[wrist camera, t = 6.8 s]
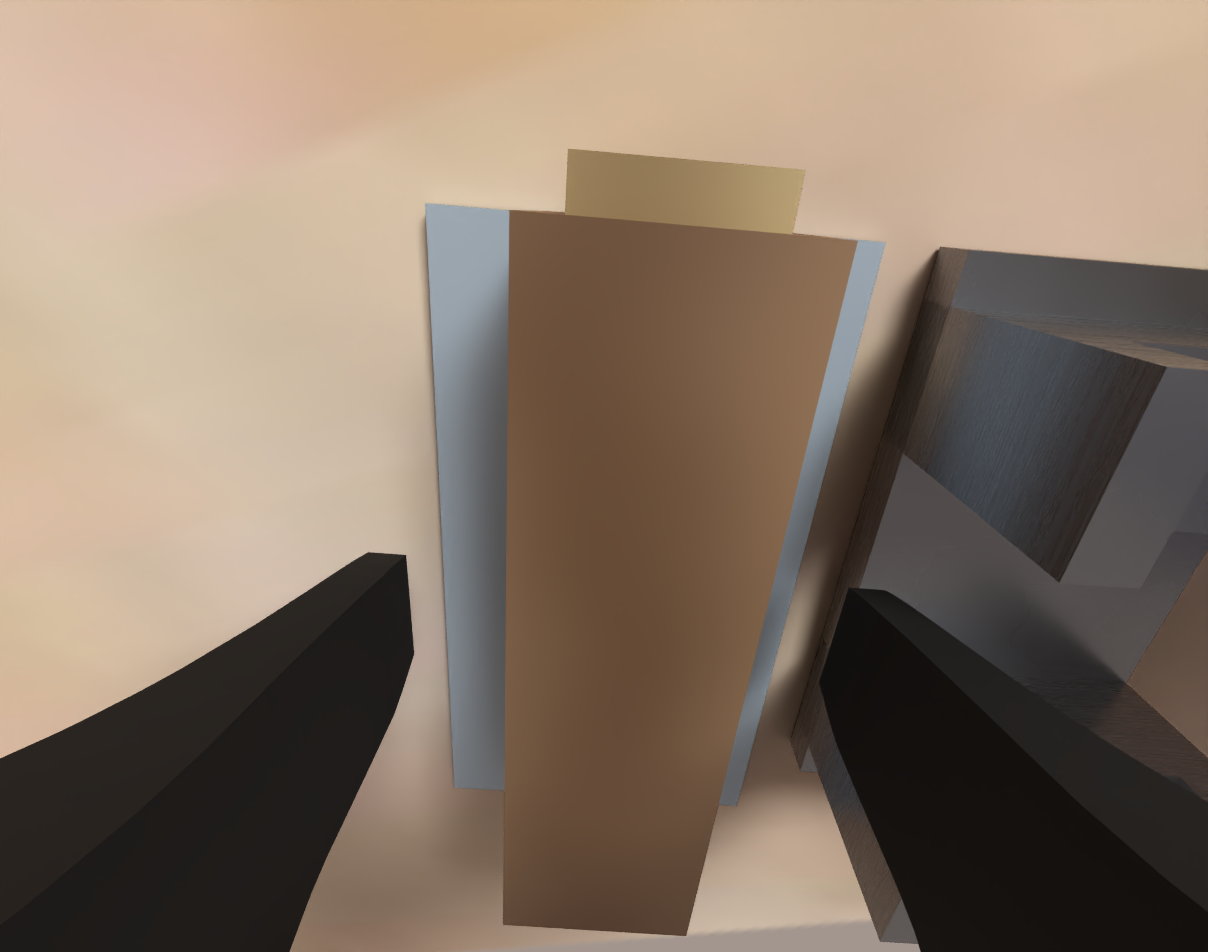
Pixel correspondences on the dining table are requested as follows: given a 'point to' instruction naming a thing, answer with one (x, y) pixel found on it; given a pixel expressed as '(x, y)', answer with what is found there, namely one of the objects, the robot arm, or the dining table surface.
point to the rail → (646, 514)
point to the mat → (479, 481)
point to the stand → (1036, 500)
